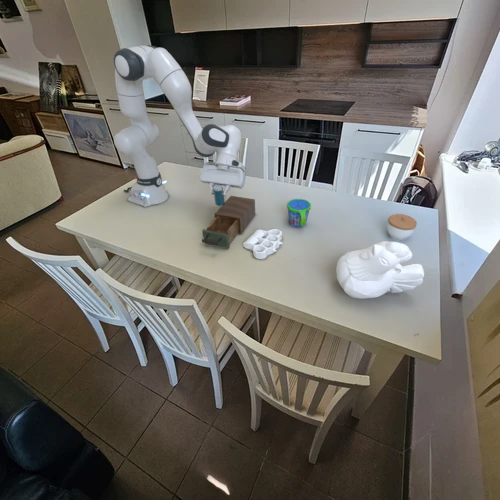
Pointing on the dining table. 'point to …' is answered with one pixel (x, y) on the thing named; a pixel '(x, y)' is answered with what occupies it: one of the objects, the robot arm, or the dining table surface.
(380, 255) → the decorative rooster
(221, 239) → the drawer
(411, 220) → the trinket box
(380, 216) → the dining table surface
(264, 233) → the white brass knuckles
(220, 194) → the salt shaker
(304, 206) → the snack cup
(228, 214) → the cabinet
